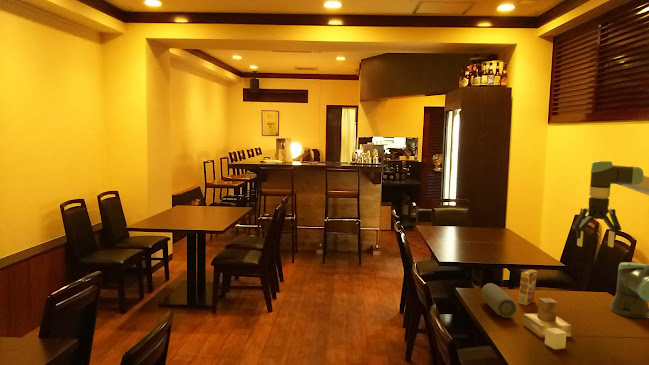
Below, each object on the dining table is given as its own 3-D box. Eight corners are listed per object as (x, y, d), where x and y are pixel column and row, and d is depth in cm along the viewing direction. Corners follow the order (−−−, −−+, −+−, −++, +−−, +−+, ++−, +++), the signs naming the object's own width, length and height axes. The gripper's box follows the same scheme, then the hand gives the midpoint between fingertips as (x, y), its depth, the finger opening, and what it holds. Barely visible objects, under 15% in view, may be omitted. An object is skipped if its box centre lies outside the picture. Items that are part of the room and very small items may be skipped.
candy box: (527, 305, 226) (529, 274, 224) (518, 303, 229) (520, 272, 227) (534, 301, 232) (537, 270, 230) (525, 299, 235) (528, 268, 233)
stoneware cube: (555, 342, 185) (556, 327, 185) (565, 348, 180) (566, 332, 180) (544, 343, 184) (545, 328, 183) (554, 349, 179) (555, 334, 178)
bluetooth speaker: (517, 321, 206) (518, 298, 205) (495, 320, 206) (496, 297, 205) (499, 302, 229) (500, 282, 228) (479, 302, 229) (480, 281, 228)
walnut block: (548, 316, 199) (550, 298, 199) (555, 321, 194) (557, 302, 194) (537, 316, 199) (538, 298, 198) (544, 321, 194) (545, 302, 193)
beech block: (551, 324, 204) (552, 313, 204) (570, 337, 191) (571, 325, 191) (522, 325, 203) (523, 313, 202) (540, 338, 190) (541, 326, 189)
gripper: (622, 196, 209) (617, 244, 211) (565, 195, 208) (561, 243, 210) (633, 199, 201) (629, 248, 203) (575, 197, 201) (571, 247, 203)
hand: (595, 246), depth 207 cm, fingers open, 13 cm apart
